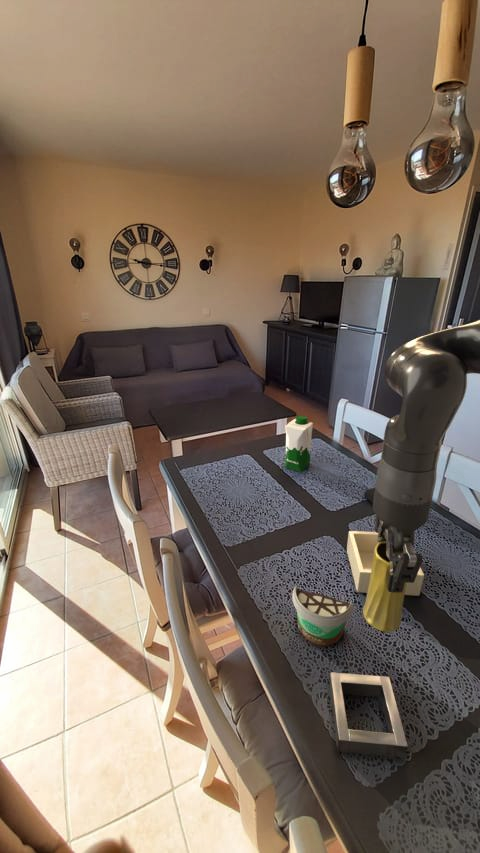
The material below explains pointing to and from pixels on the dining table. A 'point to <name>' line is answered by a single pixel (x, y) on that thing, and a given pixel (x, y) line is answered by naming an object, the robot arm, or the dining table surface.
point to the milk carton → (298, 443)
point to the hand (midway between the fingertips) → (388, 575)
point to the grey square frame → (367, 740)
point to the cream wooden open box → (371, 562)
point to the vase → (382, 594)
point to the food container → (320, 616)
